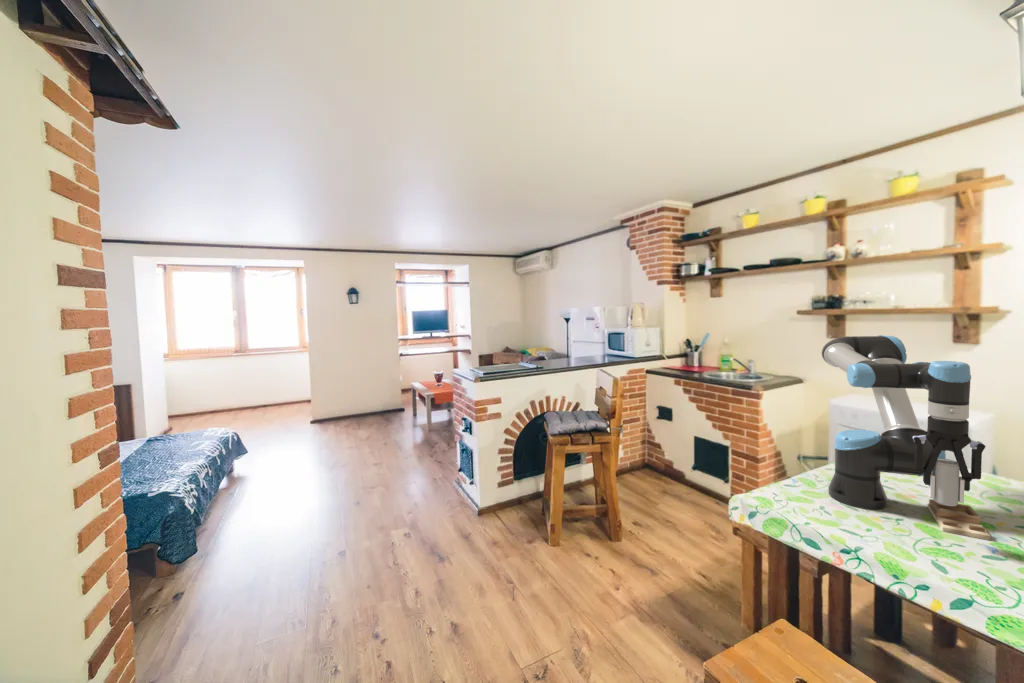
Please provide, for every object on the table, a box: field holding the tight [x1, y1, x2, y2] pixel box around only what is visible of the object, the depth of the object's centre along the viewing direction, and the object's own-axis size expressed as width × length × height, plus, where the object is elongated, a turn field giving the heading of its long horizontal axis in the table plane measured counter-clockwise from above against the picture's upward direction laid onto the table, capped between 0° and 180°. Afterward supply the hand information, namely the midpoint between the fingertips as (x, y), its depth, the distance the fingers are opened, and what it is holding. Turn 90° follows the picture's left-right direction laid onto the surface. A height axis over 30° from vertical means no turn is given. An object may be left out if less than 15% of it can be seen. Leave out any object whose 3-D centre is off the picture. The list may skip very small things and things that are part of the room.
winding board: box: [927, 498, 992, 541], centre depth 115 cm, size 9×16×3 cm, turn 144°
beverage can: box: [932, 458, 960, 506], centre depth 107 cm, size 5×5×12 cm
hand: (945, 498), depth 108 cm, fingers closed on beverage can, 5 cm apart
